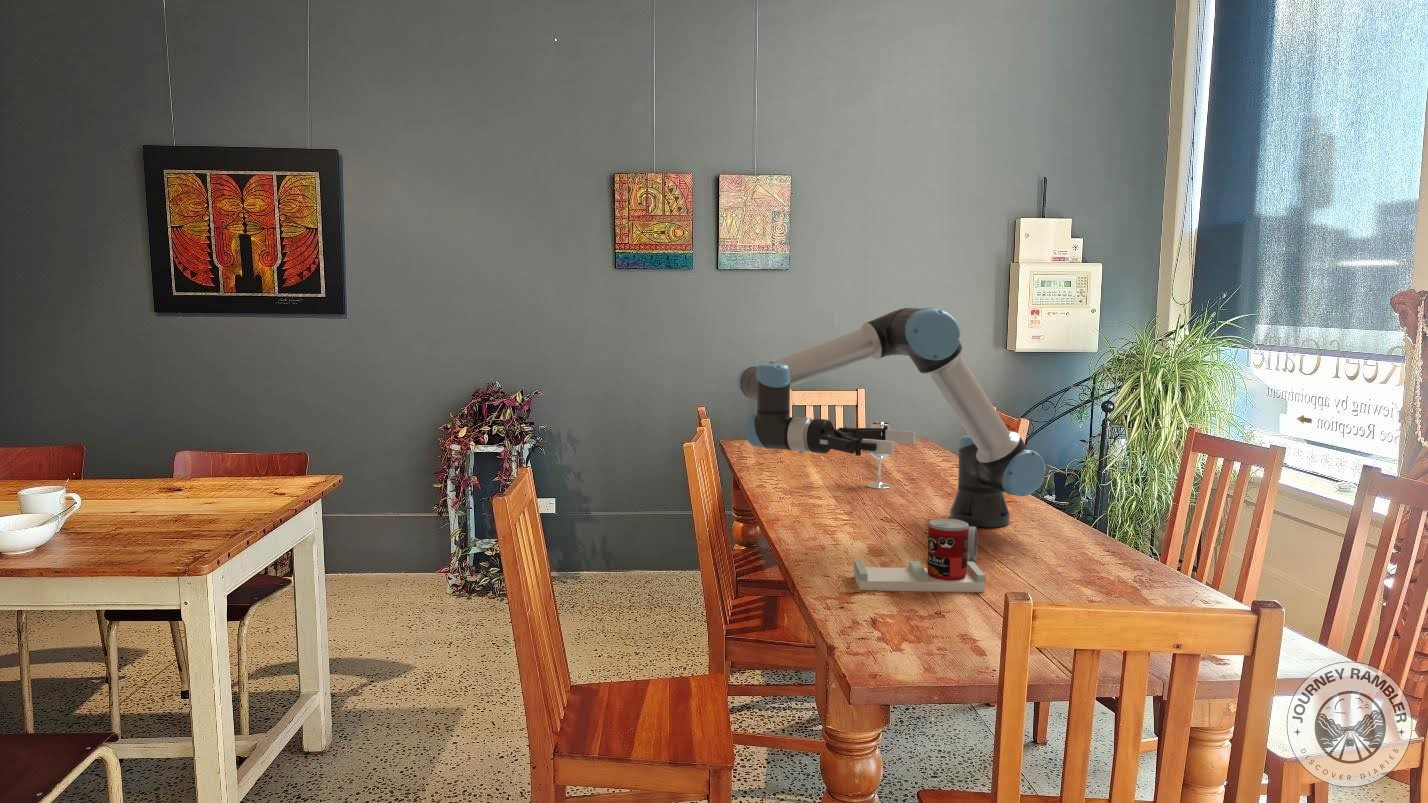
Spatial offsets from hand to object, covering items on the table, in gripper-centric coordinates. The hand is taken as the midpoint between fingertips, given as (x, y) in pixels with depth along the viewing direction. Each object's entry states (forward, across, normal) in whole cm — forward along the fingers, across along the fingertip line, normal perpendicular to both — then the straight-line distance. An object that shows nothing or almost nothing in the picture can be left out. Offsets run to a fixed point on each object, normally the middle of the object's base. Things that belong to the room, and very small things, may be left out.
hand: (904, 442), depth 180 cm
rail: (+5, +4, -28) cm, 29 cm away
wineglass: (-36, -80, -29) cm, 92 cm away
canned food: (+10, +2, -27) cm, 29 cm away
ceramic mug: (+7, -16, -29) cm, 34 cm away
